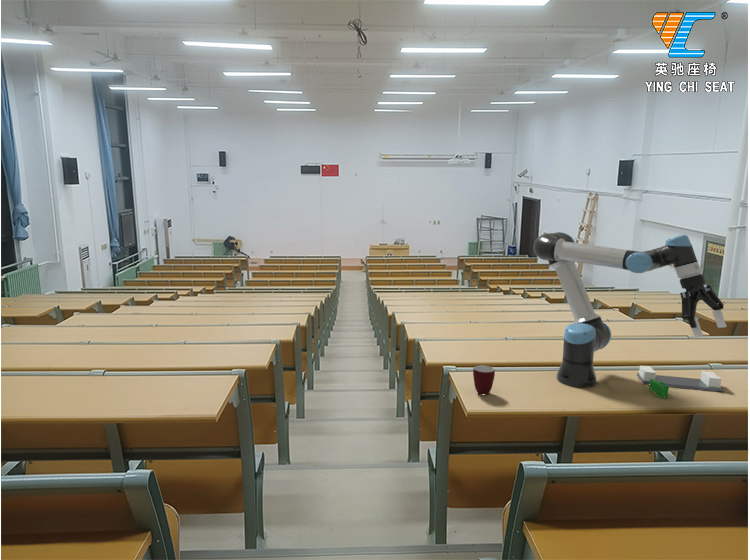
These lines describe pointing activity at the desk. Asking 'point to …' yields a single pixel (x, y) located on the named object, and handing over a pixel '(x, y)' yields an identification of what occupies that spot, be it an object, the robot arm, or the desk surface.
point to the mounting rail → (682, 380)
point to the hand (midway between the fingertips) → (710, 331)
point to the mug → (483, 378)
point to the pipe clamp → (659, 388)
